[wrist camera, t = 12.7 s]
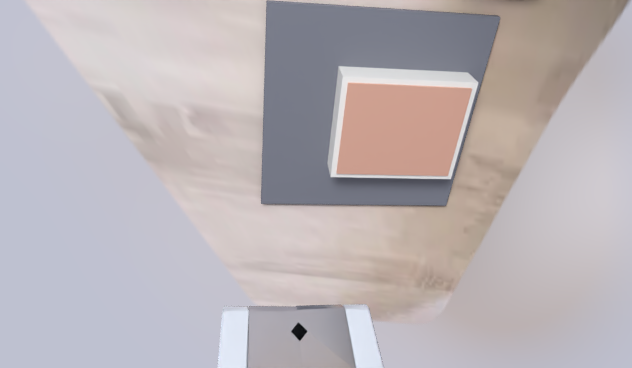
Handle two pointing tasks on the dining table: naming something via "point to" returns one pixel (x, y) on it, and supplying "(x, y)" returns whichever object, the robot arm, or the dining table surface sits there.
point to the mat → (320, 87)
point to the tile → (398, 122)
